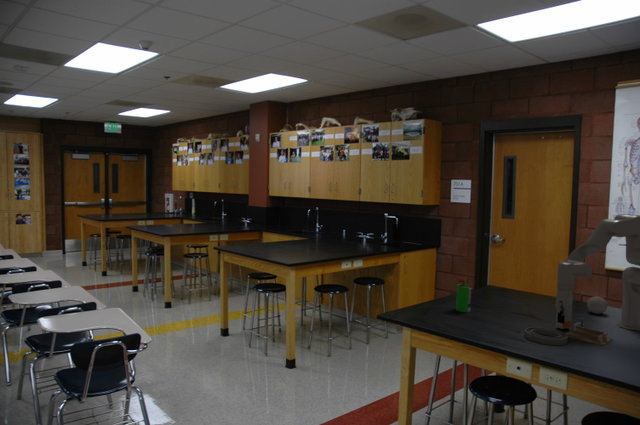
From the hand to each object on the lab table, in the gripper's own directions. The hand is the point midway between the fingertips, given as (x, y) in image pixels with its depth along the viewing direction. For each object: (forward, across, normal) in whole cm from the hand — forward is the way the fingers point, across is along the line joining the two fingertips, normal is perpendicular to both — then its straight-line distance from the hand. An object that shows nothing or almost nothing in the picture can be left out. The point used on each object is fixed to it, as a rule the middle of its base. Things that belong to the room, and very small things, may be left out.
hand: (563, 321), depth 237 cm
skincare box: (+4, 0, 0) cm, 4 cm away
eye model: (+5, -48, +1) cm, 49 cm away
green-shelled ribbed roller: (+3, +11, -50) cm, 52 cm away
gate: (+3, -3, +6) cm, 7 cm away
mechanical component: (+4, +24, +1) cm, 24 cm away
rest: (+4, +6, +13) cm, 15 cm away
